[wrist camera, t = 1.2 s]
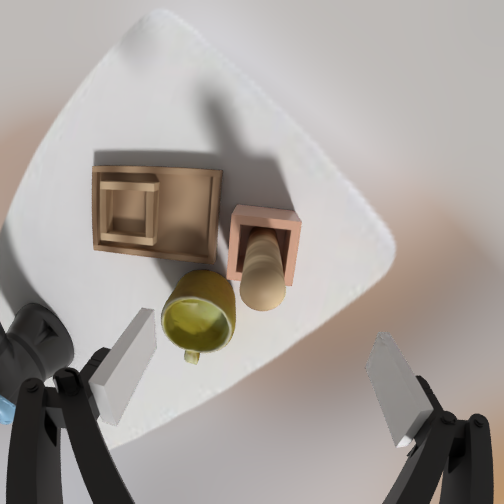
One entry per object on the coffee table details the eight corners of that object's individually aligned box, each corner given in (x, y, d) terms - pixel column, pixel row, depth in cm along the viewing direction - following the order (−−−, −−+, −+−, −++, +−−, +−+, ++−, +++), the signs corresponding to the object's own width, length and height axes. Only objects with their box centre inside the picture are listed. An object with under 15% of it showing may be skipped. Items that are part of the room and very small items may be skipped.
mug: (174, 248, 38) (171, 302, 30) (244, 268, 42) (257, 321, 34) (153, 309, 44) (149, 362, 36) (213, 323, 48) (219, 374, 40)
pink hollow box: (232, 259, 40) (226, 279, 34) (237, 204, 38) (231, 214, 31) (287, 264, 40) (291, 286, 34) (294, 210, 38) (301, 222, 31)
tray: (100, 245, 40) (90, 252, 37) (100, 165, 37) (88, 166, 34) (215, 258, 40) (212, 267, 37) (222, 170, 37) (219, 171, 34)
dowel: (247, 249, 39) (237, 308, 23) (250, 222, 38) (241, 267, 22) (275, 252, 39) (282, 313, 23) (278, 225, 38) (289, 271, 22)
